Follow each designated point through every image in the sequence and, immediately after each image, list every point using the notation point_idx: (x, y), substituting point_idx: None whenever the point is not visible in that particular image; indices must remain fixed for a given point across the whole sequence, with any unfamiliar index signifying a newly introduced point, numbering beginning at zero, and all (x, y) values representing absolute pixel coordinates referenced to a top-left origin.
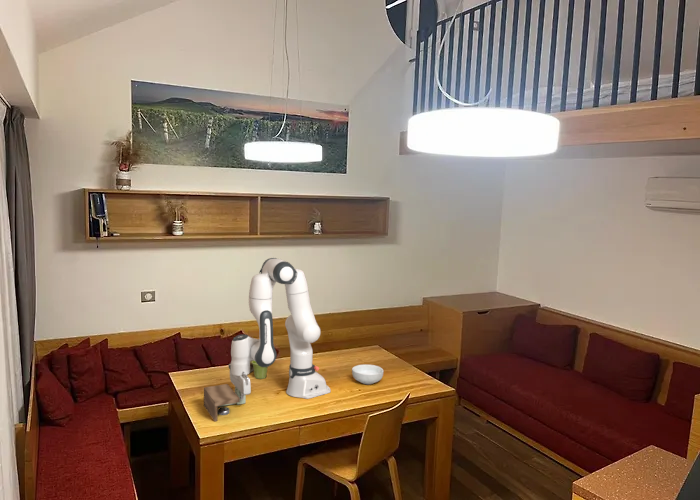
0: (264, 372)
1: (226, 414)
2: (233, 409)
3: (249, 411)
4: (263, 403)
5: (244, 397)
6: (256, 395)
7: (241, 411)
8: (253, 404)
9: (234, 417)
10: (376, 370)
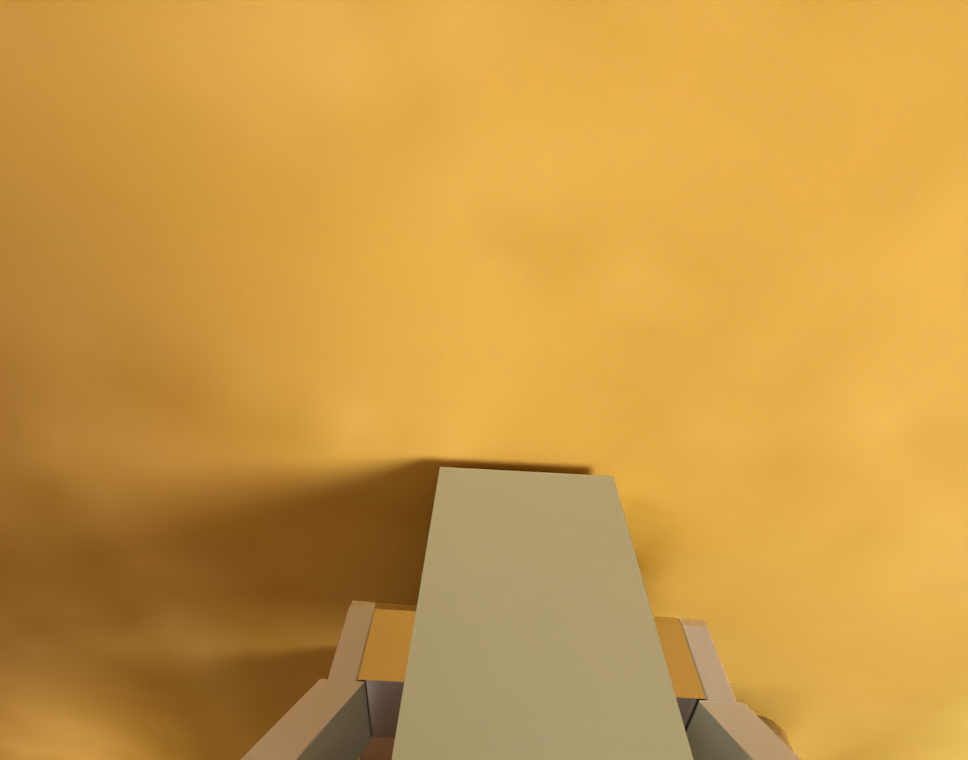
0: None
1: None
2: None
3: (956, 517)
4: (859, 85)
5: (635, 598)
6: (218, 31)
7: (845, 604)
8: (731, 343)
9: (938, 714)
10: None
